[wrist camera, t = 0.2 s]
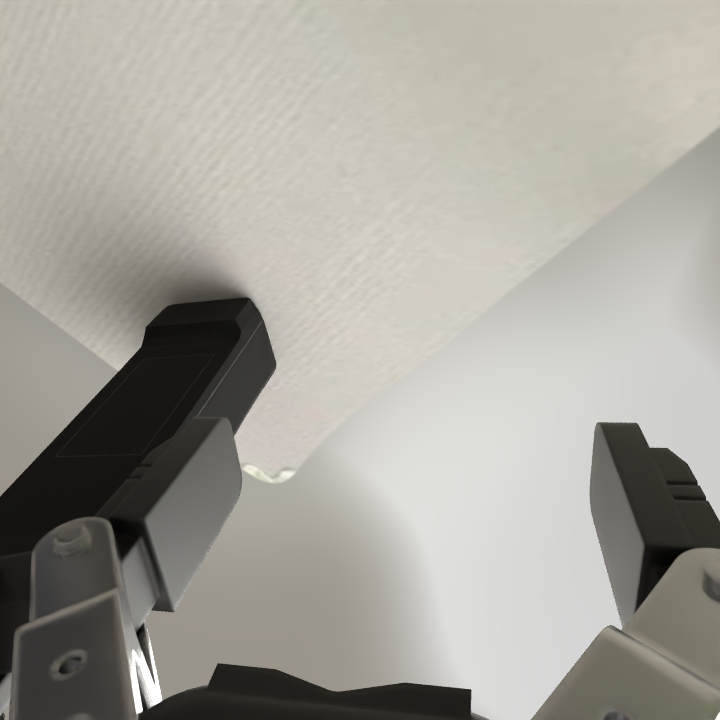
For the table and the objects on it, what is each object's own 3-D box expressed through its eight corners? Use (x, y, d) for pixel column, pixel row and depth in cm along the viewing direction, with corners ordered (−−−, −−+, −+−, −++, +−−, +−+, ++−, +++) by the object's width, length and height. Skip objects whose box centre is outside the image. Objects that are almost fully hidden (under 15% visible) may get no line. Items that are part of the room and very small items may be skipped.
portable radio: (180, 379, 42) (-109, 755, 22) (150, 306, 39) (-220, 661, 18) (281, 373, 40) (69, 779, 20) (257, 295, 37) (-23, 679, 17)
